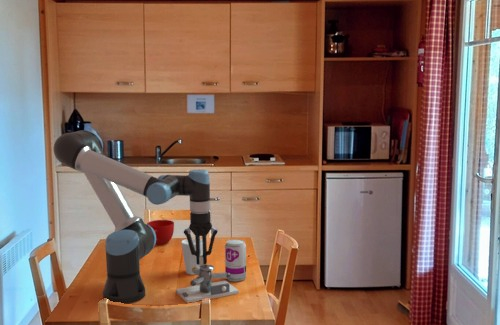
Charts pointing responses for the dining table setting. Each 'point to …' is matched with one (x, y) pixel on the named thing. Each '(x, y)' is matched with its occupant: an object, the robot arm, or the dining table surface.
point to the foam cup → (190, 255)
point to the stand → (216, 291)
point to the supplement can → (235, 259)
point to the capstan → (206, 277)
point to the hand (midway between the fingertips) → (202, 272)
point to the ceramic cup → (162, 230)
